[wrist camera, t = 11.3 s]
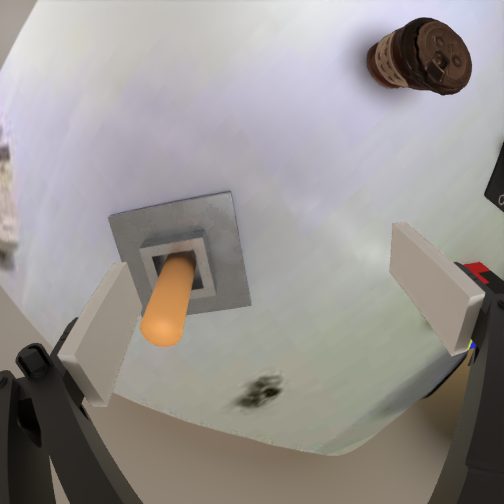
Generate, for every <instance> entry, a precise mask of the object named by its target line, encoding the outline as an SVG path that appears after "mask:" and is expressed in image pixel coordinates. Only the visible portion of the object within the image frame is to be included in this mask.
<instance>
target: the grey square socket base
mask: <svg viewBox="0 0 504 504" xmlns="http://www.w3.org/2000/svg"><path fill="white" fill-rule="evenodd" d="M108 219H109V222H110V226H111V229H112V232H113V236H114V239H115V242H116V245H117V248H118V251H119V254H120V258H121V261H122V262H127V264H128V267H129V270H130V273H131V276H132V279H133V282H134V285H135V287H136V290H137V293H138V296H139V298H140V301H141V304H142V307H143V308H142V311H141V315H142V318H143V316H144V314H145V311H146V308H147V306H148V303H149V301H150V298H151V296H152V293H153V290H154V288H155V285H156V283H157V281H158V278H159V276H160V273H161V271H162V268H163V266H164V263H165V261H166V259H167V257H168V255H169V254H170V253H176V252H182V251H188V252H190V253H191V254H192V255H193V256H194V258H195V260H196V269H195V274H194V279H193V283H192V288H191V293H190V298H189V302H188V307H187V312H186V315H190V314H198V313H205V312H212V311H219V310H226V309H233V308H239V307H246V306H251V299H250V294H249V289H248V283H247V278H246V273H245V267H244V262H243V256H242V251H241V245H240V240H239V234H238V229H237V223H236V218H235V212H234V207H233V201H232V196H231V191H229V192H223V193H218V194H212V195H207V196H201V197H196V198H191V199H185V200H180V201H175V202H170V203H165V204H160V205H155V206H151V207H146V208H141V209H136V210H132V211H127V212H123V213H118V214H114V215H110V216H109V217H108Z"/></svg>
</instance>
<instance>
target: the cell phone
mask: <svg viewBox="0 0 504 504" xmlns="http://www.w3.org/2000/svg"><path fill="white" fill-rule="evenodd" d="M484 195H485V197H486V198H487V199H489V200H490V201H491V202H492V203H494V204H495V205H496V206H497V207H498V208H500V209H501V210H502V211H503V212H504V143H503V146H502V148H501V151H500V154H499V157H498V160H497V162H496V165H495V168H494V170H493V173H492V176H491V178H490V181H489V183H488V185H487V188H486V190H485V193H484Z"/></svg>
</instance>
